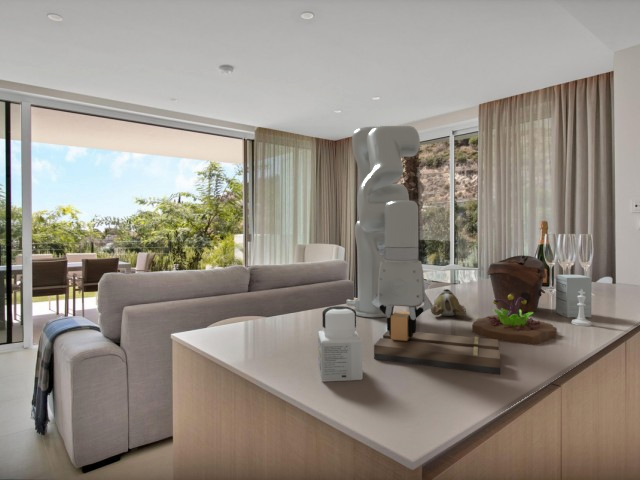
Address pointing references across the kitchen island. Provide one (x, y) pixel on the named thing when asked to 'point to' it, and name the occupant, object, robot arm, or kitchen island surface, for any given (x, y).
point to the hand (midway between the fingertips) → (401, 334)
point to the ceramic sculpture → (447, 305)
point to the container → (339, 346)
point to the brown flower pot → (518, 281)
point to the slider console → (442, 351)
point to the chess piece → (581, 312)
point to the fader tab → (400, 325)
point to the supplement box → (572, 294)
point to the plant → (514, 325)
